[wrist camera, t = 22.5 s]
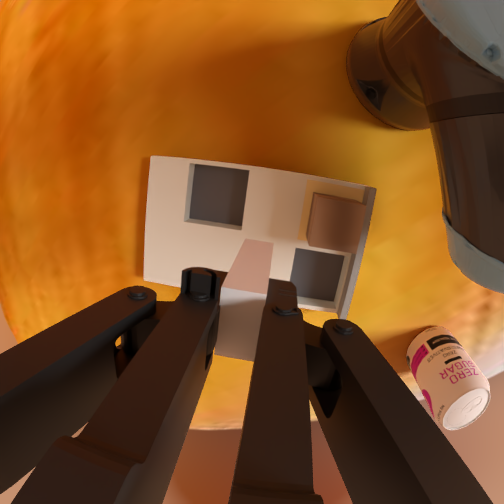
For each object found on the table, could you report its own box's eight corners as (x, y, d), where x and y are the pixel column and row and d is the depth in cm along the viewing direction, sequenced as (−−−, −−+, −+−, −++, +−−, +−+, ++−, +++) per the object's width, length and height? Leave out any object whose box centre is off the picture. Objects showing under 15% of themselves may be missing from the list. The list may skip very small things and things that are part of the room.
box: (150, 273, 42) (137, 285, 38) (158, 155, 38) (144, 155, 33) (339, 305, 41) (345, 321, 37) (366, 185, 36) (376, 188, 32)
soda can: (418, 376, 43) (449, 441, 29) (395, 348, 42) (428, 416, 28) (457, 345, 41) (499, 403, 27) (438, 314, 40) (485, 372, 26)
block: (305, 234, 36) (308, 246, 31) (313, 191, 35) (317, 196, 30) (347, 241, 36) (356, 254, 31) (355, 199, 34) (366, 206, 30)
